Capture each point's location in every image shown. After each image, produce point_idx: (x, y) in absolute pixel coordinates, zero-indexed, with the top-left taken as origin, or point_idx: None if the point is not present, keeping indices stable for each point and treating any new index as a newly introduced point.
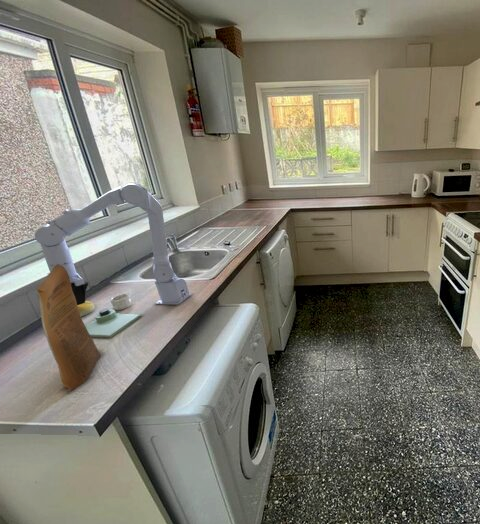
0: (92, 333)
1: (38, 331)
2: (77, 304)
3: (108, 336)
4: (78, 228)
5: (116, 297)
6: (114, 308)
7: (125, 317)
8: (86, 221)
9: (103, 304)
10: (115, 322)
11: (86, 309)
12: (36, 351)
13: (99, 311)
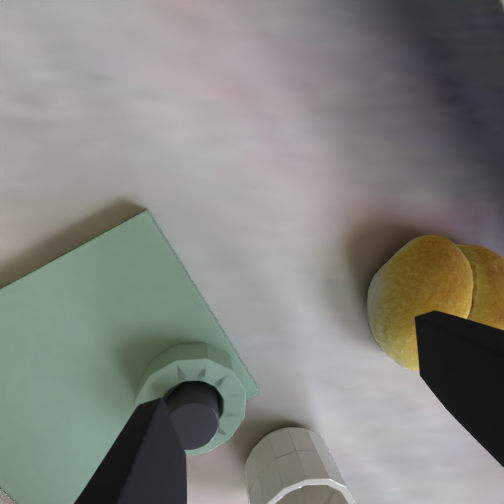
0: (17, 294)
1: (411, 99)
2: (133, 412)
3: None
4: None
5: (344, 499)
6: (280, 434)
7: (78, 461)
8: None
9: (416, 393)
10: (56, 413)
11: (385, 339)
12: (129, 18)
13: (203, 406)
